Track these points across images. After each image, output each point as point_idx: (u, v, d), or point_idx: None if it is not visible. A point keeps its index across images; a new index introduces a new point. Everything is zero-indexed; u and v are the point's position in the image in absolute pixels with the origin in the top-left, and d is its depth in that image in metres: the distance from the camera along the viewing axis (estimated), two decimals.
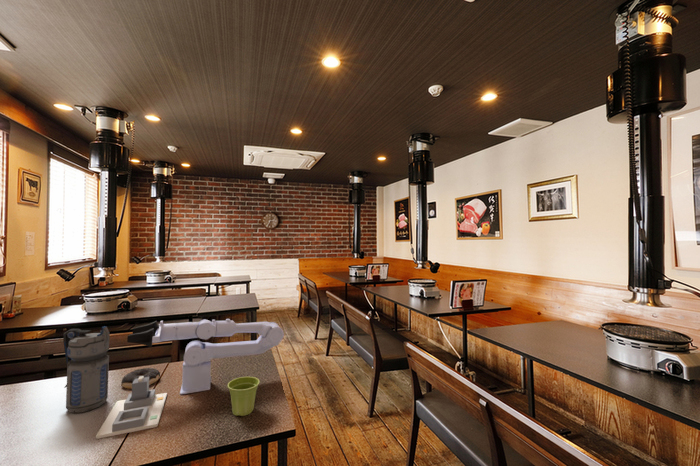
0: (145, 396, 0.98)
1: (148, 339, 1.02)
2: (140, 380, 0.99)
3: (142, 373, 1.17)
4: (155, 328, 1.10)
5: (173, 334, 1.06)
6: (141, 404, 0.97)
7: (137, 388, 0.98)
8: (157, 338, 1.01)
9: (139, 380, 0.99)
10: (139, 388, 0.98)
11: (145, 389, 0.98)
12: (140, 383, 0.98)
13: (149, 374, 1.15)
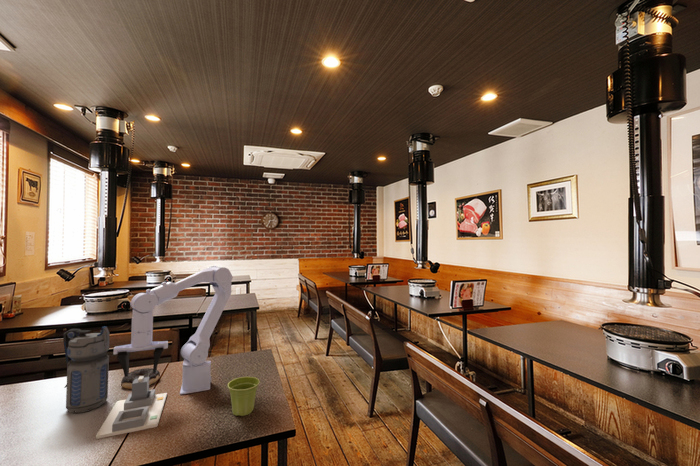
0: (145, 396, 0.98)
1: None
2: (140, 380, 0.99)
3: (142, 373, 1.17)
4: (127, 354, 0.98)
5: (152, 332, 1.01)
6: (141, 404, 0.97)
7: (137, 388, 0.98)
8: (167, 343, 1.03)
9: (139, 380, 0.99)
10: (139, 388, 0.98)
11: (145, 389, 0.98)
12: (140, 383, 0.98)
13: (149, 374, 1.15)
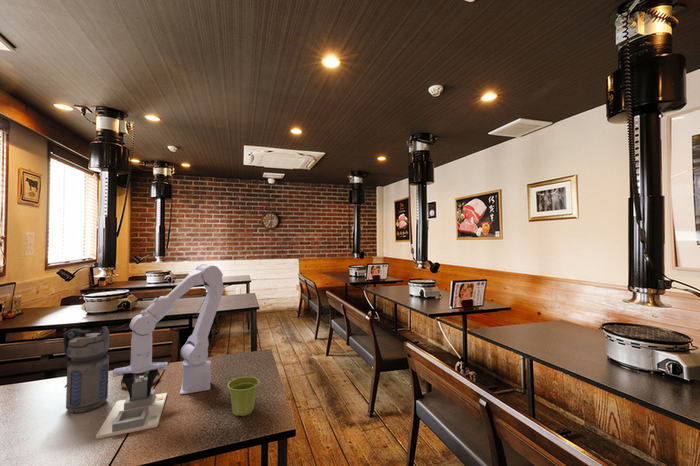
0: (145, 396, 0.98)
1: None
2: (140, 380, 0.99)
3: (142, 373, 1.17)
4: (132, 375, 0.98)
5: (151, 353, 1.01)
6: (141, 404, 0.97)
7: (137, 388, 0.98)
8: (166, 364, 1.02)
9: (139, 380, 0.99)
10: (139, 388, 0.98)
11: (145, 389, 0.98)
12: (140, 383, 0.98)
13: None
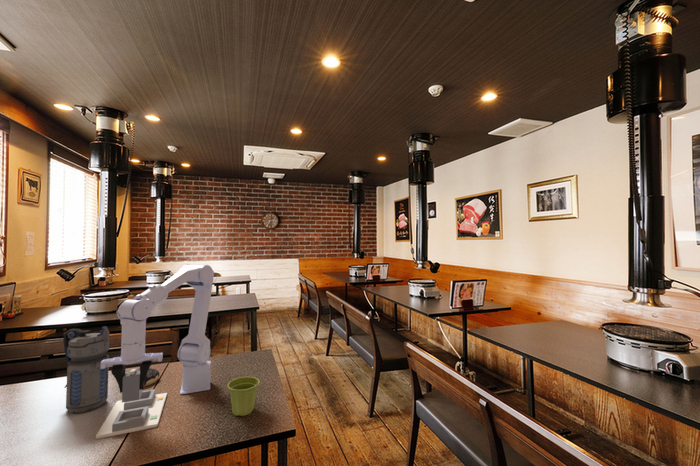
0: (138, 391, 0.88)
1: None
2: (132, 373, 0.88)
3: None
4: (123, 367, 0.88)
5: None
6: (141, 404, 0.97)
7: (129, 381, 0.87)
8: (162, 355, 0.92)
9: (131, 373, 0.88)
10: (130, 382, 0.87)
11: (138, 383, 0.88)
12: (132, 376, 0.88)
13: (148, 374, 1.14)
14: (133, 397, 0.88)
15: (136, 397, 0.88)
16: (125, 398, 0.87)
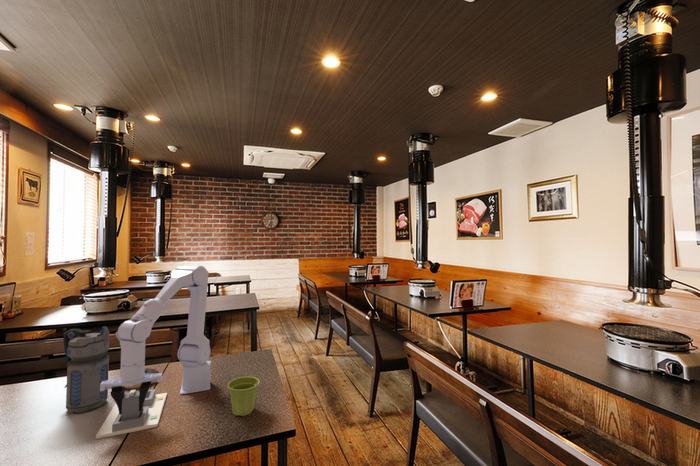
0: (137, 412, 0.88)
1: None
2: (131, 394, 0.88)
3: None
4: (122, 389, 0.88)
5: (144, 363, 0.90)
6: None
7: (128, 403, 0.87)
8: (161, 376, 0.92)
9: (130, 394, 0.88)
10: (130, 403, 0.87)
11: (137, 405, 0.88)
12: (131, 398, 0.87)
13: None
14: None
15: None
16: (124, 420, 0.87)
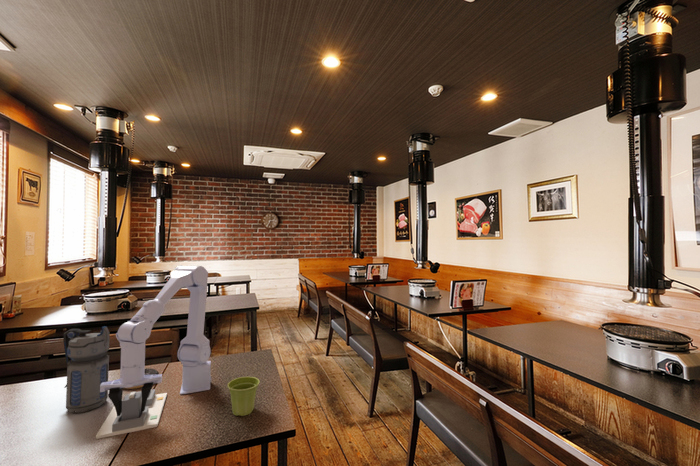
0: (137, 415, 0.88)
1: None
2: (131, 397, 0.88)
3: None
4: (120, 390, 0.87)
5: (144, 365, 0.90)
6: None
7: (128, 405, 0.87)
8: (161, 377, 0.92)
9: (130, 397, 0.88)
10: (130, 406, 0.87)
11: (137, 407, 0.88)
12: (131, 400, 0.87)
13: (148, 374, 1.14)
14: None
15: None
16: None
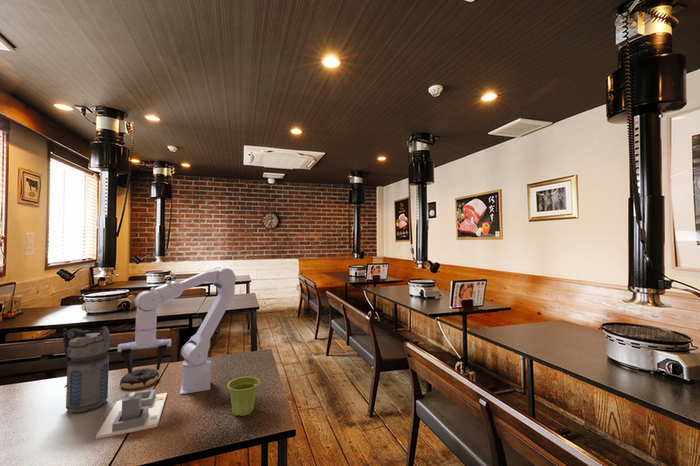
0: (137, 415, 0.88)
1: None
2: (131, 397, 0.88)
3: (141, 373, 1.17)
4: (131, 351, 0.99)
5: None
6: None
7: (128, 405, 0.87)
8: (170, 341, 1.04)
9: (130, 397, 0.88)
10: (130, 406, 0.87)
11: (137, 407, 0.88)
12: (131, 400, 0.87)
13: (148, 374, 1.14)
14: None
15: None
16: None
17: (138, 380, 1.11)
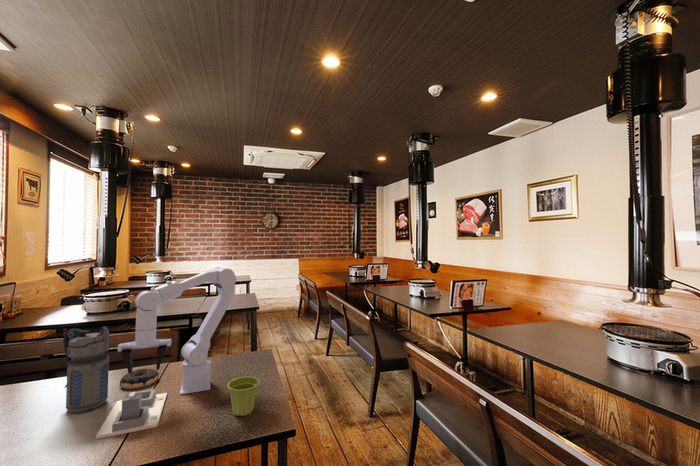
0: (137, 415, 0.88)
1: None
2: (131, 397, 0.88)
3: (141, 373, 1.17)
4: (131, 351, 0.99)
5: None
6: None
7: (128, 405, 0.87)
8: (170, 341, 1.04)
9: (130, 397, 0.88)
10: (130, 406, 0.87)
11: (137, 407, 0.88)
12: (131, 400, 0.87)
13: (148, 374, 1.14)
14: None
15: None
16: None
17: (138, 380, 1.11)
